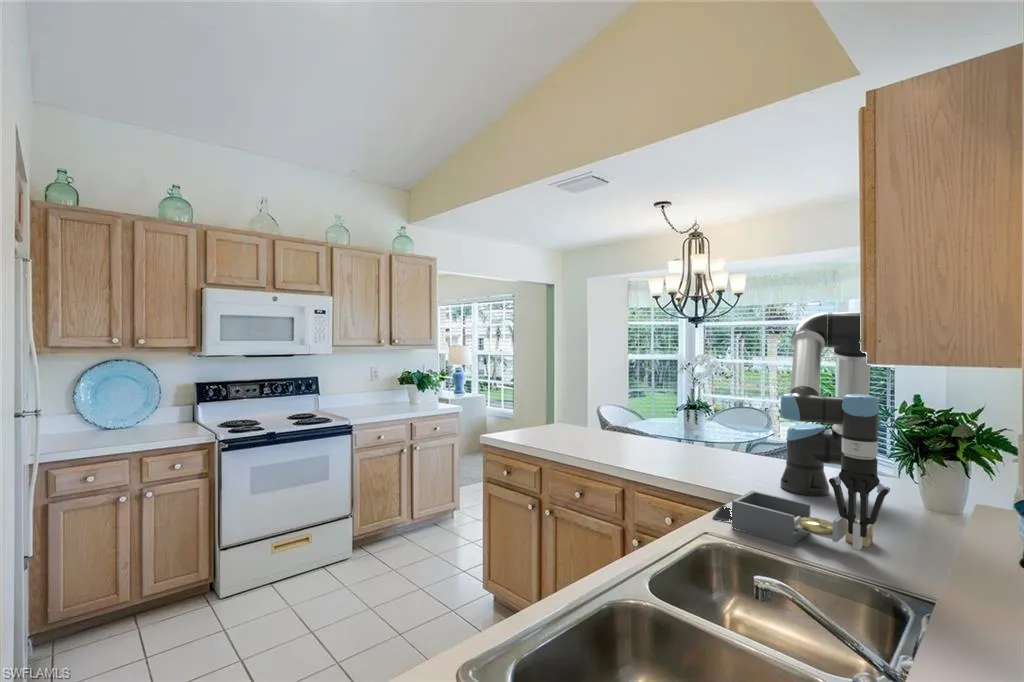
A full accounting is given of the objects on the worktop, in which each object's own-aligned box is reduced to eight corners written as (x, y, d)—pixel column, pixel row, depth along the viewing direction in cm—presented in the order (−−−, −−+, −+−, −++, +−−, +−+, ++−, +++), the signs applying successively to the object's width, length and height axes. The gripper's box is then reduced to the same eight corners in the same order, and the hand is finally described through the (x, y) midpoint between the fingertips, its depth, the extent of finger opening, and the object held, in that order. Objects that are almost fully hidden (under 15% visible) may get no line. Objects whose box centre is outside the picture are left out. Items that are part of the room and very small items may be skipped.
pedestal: (850, 536, 138) (851, 518, 138) (872, 541, 134) (872, 523, 134) (845, 541, 134) (846, 523, 134) (867, 547, 131) (868, 528, 131)
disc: (838, 529, 133) (838, 523, 133) (829, 537, 127) (829, 531, 127) (805, 520, 139) (805, 514, 139) (795, 528, 133) (795, 522, 133)
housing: (751, 516, 152) (752, 490, 152) (809, 532, 140) (810, 504, 140) (731, 528, 143) (732, 500, 143) (792, 546, 131) (792, 516, 131)
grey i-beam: (789, 518, 142) (790, 499, 142) (847, 533, 132) (847, 513, 132) (777, 526, 136) (778, 507, 136) (837, 543, 126) (837, 521, 125)
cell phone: (711, 520, 150) (711, 518, 150) (721, 507, 161) (721, 504, 161) (738, 526, 145) (738, 523, 145) (746, 512, 157) (746, 509, 157)
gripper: (825, 453, 128) (823, 543, 129) (887, 463, 118) (885, 561, 119) (833, 448, 133) (832, 535, 134) (894, 458, 124) (892, 551, 124)
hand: (857, 547), depth 126 cm, fingers closed
